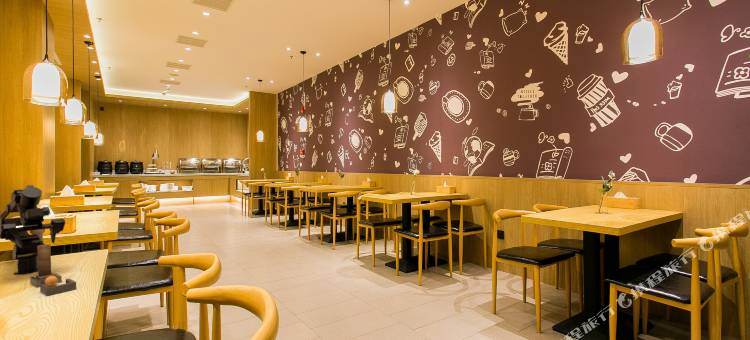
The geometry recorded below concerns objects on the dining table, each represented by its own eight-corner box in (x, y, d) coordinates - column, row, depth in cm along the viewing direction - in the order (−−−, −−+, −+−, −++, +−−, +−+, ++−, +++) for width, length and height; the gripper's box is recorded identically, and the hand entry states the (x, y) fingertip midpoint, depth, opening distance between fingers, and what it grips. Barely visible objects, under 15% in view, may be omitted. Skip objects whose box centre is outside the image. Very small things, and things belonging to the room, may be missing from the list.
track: (30, 283, 137) (30, 277, 136) (54, 278, 142) (54, 272, 142) (36, 287, 132) (36, 281, 132) (61, 282, 137) (61, 276, 137)
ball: (49, 284, 135) (49, 274, 135) (60, 284, 135) (60, 274, 135) (42, 288, 131) (41, 278, 131) (53, 287, 132) (53, 277, 132)
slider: (35, 281, 137) (34, 245, 137) (50, 278, 141) (49, 243, 140) (40, 284, 134) (38, 247, 133) (55, 280, 137) (54, 245, 137)
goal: (40, 291, 127) (40, 284, 127) (69, 285, 134) (69, 278, 134) (46, 296, 123) (46, 288, 123) (76, 289, 130) (76, 282, 130)
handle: (29, 265, 161) (28, 231, 160) (32, 261, 166) (31, 228, 166) (44, 263, 163) (43, 229, 163) (46, 260, 169) (45, 227, 168)
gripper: (-1, 203, 137) (7, 236, 131) (63, 198, 152) (73, 228, 146) (-5, 222, 141) (3, 255, 135) (57, 216, 157) (67, 245, 151)
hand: (38, 245), depth 142 cm, fingers open, 9 cm apart
